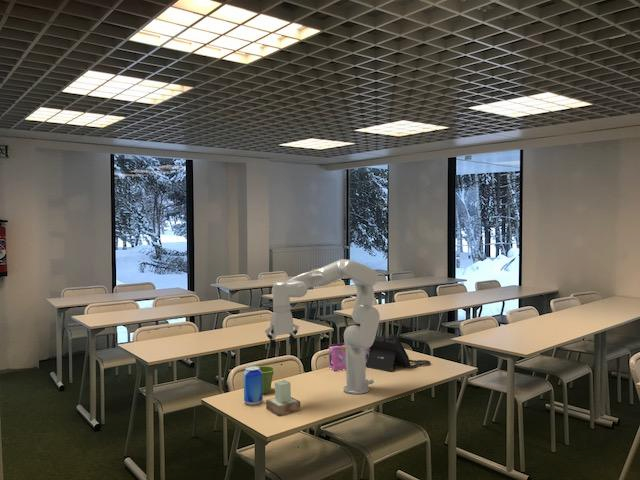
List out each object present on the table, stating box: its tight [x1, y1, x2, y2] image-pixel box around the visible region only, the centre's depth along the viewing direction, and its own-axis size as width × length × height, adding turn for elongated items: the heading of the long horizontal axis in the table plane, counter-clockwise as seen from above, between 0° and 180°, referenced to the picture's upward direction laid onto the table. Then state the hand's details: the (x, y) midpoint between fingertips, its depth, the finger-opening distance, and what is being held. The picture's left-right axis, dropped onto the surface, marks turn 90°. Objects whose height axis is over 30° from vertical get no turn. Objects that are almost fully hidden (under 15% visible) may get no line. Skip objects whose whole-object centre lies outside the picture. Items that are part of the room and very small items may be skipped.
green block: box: [274, 379, 292, 403], centre depth 226 cm, size 5×5×8 cm
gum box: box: [328, 342, 370, 372], centre depth 292 cm, size 24×8×14 cm, turn 114°
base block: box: [265, 396, 301, 417], centre depth 226 cm, size 11×11×4 cm
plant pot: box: [258, 365, 276, 395], centre depth 252 cm, size 12×12×11 cm
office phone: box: [366, 333, 431, 373], centre depth 294 cm, size 29×28×20 cm
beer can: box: [243, 365, 264, 406], centre depth 237 cm, size 8×8×16 cm
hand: (282, 346), depth 233 cm, fingers open, 9 cm apart
